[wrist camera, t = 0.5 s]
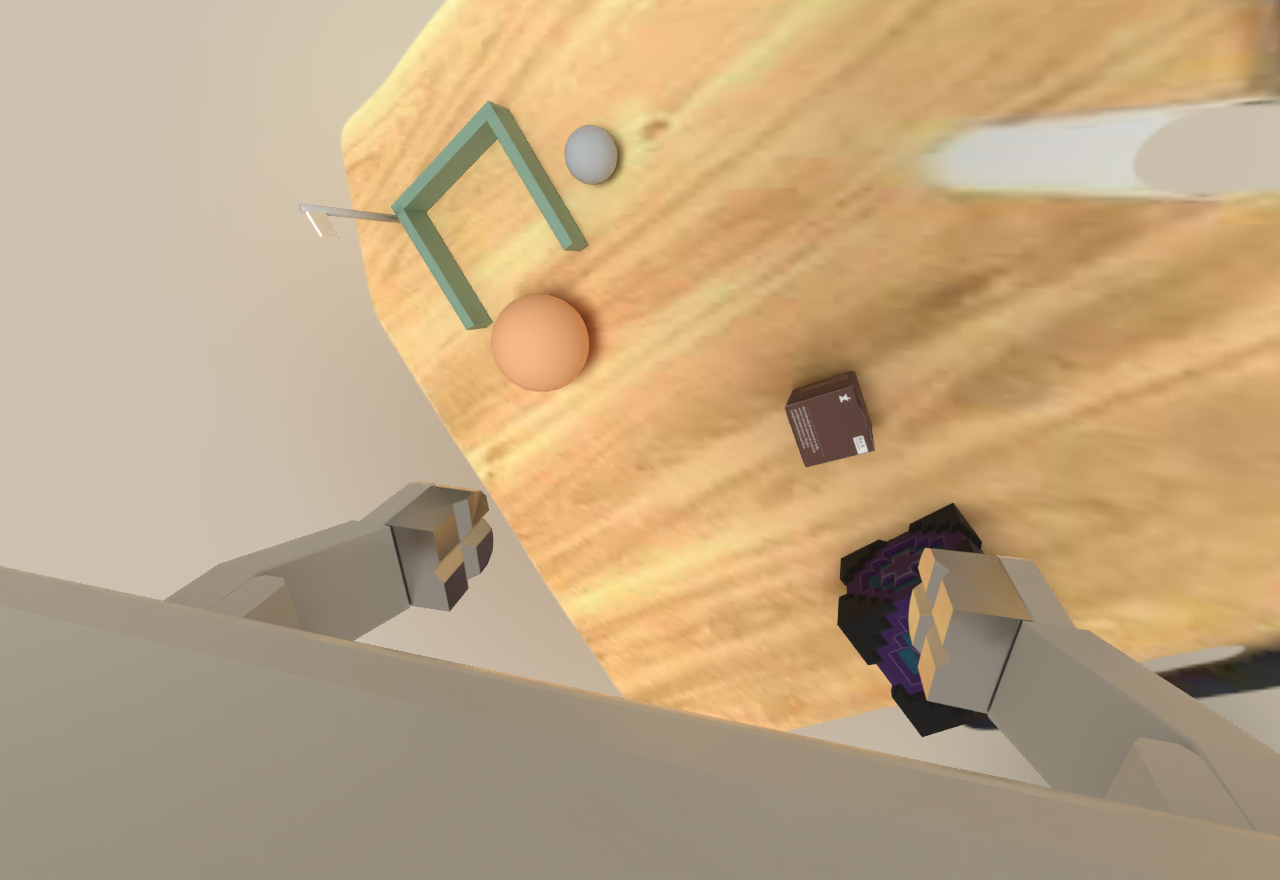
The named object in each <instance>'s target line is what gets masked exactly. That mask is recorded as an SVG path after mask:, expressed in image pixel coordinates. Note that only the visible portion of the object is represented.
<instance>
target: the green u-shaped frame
mask: <svg viewBox="0 0 1280 880" xmlns="http://www.w3.org/2000/svg"><path fill="white" fill-rule="evenodd" d="M497 139H498V140H499V142H500V143H501V145H502V147H503V149H504V150H505V152H506V154H507V155H508V157H509V159H510V160H511V162H512V164H513V165H514V167H515V169H516V170H517V172H518V174H519V175H520V177H521V179H522V180H523V182H524V184H525V185H526V187H527V189H528V190H529V192H530V194H531V196H532V197H533V199H534V201H535V202H536V204H537V206H538V207H539V209H540V211H541V212H542V214H543V216H544V217H545V219H546V221H547V222H548V224H549V226H550V227H551V229H552V231H553V232H554V234H555V236H556V237H557V239H558V241H559V243H560V244H561V246H562V248H563V249H564V250H567V251H581V250H582V249H584V248H585V247H586V246H587V245H588V243H587V241H586V240H585V238H584V236H583V235H582V233H581V231H580V230H579V228H578V226H577V225H576V223H575V221H574V220H573V218H572V216H571V214H570V213H569V211H568V209H567V208H566V206H565V204H564V203H563V201H562V199H561V198H560V196H559V194H558V193H557V191H556V189H555V187H554V186H553V184H552V182H551V181H550V179H549V177H548V176H547V174H546V172H545V171H544V169H543V167H542V165H541V164H540V162H539V160H538V159H537V157H536V155H535V154H534V152H533V150H532V149H531V147H530V145H529V144H528V142H527V140H526V138H525V137H524V135H523V133H522V132H521V130H520V128H519V127H518V125H517V123H516V122H515V120H514V118H513V117H512V115H511V113H510V111H509V110H507V109H505V108H503V107H501V106H499V105H496V104H494V103H492V102H490V101H487V103H486V104H485V105H484V106H483V107H482V108H481V109H480V110H479V111H478V112H477V113H476V115H475V116H474V117H473V118H472V119H471V120H470V121H469V122H468V123H467V124H466V125H465V127H464V128H463V129H462V130H461V131H460V132H459V133H458V134H457V135H456V136H455V137H454V139H453V140H452V141H451V142H450V143H449V144H448V145H447V146H446V147H445V148H444V149H443V151H442V152H441V153H440V154H439V155H438V156H437V157H436V158H435V159H434V160H433V161H432V163H431V164H430V165H429V166H428V167H427V168H426V169H425V170H424V171H423V172H422V173H421V175H420V176H419V177H418V178H417V179H416V180H415V181H414V182H413V183H412V184H411V185H410V187H409V188H408V189H407V190H406V191H405V192H404V193H403V194H402V195H401V196H400V197H399V198H398V200H397V201H396V202H395V203H394V204H393V205H392V206H391V207H392V209H393V211H394V212H395V214H396V215H390V214H381V213H373V212H365V211H357V210H349V209H340V208H332V207H324V206H316V205H308V204H300V206H299V209H300V211H301V212H302V213H306V214H307V216H308V217H309V219H310V221H311V222H312V224H313V226H314V227H315V229H316V230H317V232H318V234H319V235H320V237H325V238H339V237H340V235H339V234H338V232H337V230H336V229H335V228H334V226H333V224H332V223H331V221H330V219H329V218H328V216H337V217H346V218H356V219H365V220H375V221H384V222H393V223H401V224H402V225H403V227H404V229H405V230H406V232H407V233H408V235H409V237H410V238H411V240H412V242H413V243H414V245H415V246H416V248H417V250H418V251H419V253H420V255H421V256H422V258H423V260H424V261H425V263H426V264H427V266H428V268H429V269H430V271H431V273H432V274H433V276H434V277H435V279H436V281H437V282H438V284H439V286H440V287H441V289H442V290H443V292H444V294H445V295H446V297H447V299H448V300H449V302H450V304H451V305H452V307H453V308H454V310H455V312H456V313H457V315H458V317H459V318H460V320H461V321H462V323H463V325H464V326H465V328H466V330H473V329H480V328H486V327H487V326H488V325H490V324H491V323H492V320H491V319H490V317H489V315H488V314H487V312H486V310H485V309H484V307H483V306H482V304H481V302H480V301H479V299H478V297H477V296H476V294H475V292H474V291H473V289H472V287H471V286H470V284H469V283H468V281H467V279H466V278H465V276H464V274H463V273H462V271H461V269H460V268H459V266H458V265H457V263H456V261H455V260H454V258H453V256H452V255H451V253H450V251H449V250H448V248H447V246H446V245H445V243H444V242H443V240H442V238H441V237H440V235H439V233H438V232H437V230H436V228H435V227H434V225H433V224H432V222H431V220H430V219H429V217H428V215H427V214H426V212H427V211H428V210H429V209H430V208H431V207H432V206H433V204H434V203H435V202H436V201H437V200H438V199H439V198H440V197H441V196H442V195H443V194H444V193H445V192H446V191H447V190H448V189H449V188H450V187H451V186H452V185H453V184H454V183H455V182H456V181H457V180H458V179H459V178H460V177H461V176H462V175H463V174H464V173H465V172H466V170H467V169H468V168H469V167H470V166H471V165H472V164H473V163H474V162H475V161H476V160H477V159H478V158H479V157H480V156H481V155H482V154H483V153H484V152H485V151H486V150H487V149H488V148H489V147H490V146H491V145H492V144H493V143H494V142H495V141H496V140H497ZM327 215H328V216H327Z"/></svg>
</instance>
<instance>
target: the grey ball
mask: <svg viewBox="0 0 1280 880" xmlns="http://www.w3.org/2000/svg"><path fill="white" fill-rule="evenodd" d="M565 161H566V164H567V167H568V169H569V171H570V172H571V174H572V175H573V176H574V177H575V178H576V179H578V180H579V181H581V182H583V183H586V184H598V183H601V182H603V181H605V180H606V179H608V178H609V177H610V176H611V174H612V173H613V171H614V169H615V167H616V163H617V149H616V145H615V142H614V140H613V139H612V137H611V136H610V135H609V133H608V132H606V131H605V130H604V129H602V128H600V127H598V126H594V125H586V126H582V127H580V128H578V129H576V130H575V131H574V132H573V133H572V134H571V135H570V137H569V139H568V141H567V143H566V146H565Z"/></svg>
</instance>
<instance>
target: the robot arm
mask: <svg viewBox="0 0 1280 880" xmlns="http://www.w3.org/2000/svg"><path fill="white" fill-rule="evenodd" d="M488 511H489V508H488V503H487V498H486V496H485V494H483V493H482V492H481V491H479V490H473V489H466V488H459V487H452V486H446V485H437V484H433V483H424V482H411V483H409V484H408V485H406V486H405V487H404V488H402V489H401V490H400V491H398V492H397V493H396V494H395V495H393V496H392V497H391V498H389V499H388V500H387V501H385V502H384V503H383V504H381V505H380V506H379V507H378V508H376V509H375V510H374V511H372V512H371V513H370V514H368V515H367V516H366V517H365V518H363V519H362V520H361V521H350V522H346V523H343V524H340V525H337V526H334V527H331V528H328V529H325V530H322V531H319V532H316V533H313V534H310V535H307V536H303V537H300V538H297V539H294V540H291V541H288V542H285V543H282V544H279V545H276V546H273V547H270V548H267V549H264V550H261V551H257V552H255V553H252V554H248V555H245V556H242V557H239V558H236V559H233V560H230V561H227V562H224V563H221V564H218V565H217V566H215V567H214V568H212V569H211V570H209V571H208V572H206V573H205V574H203V575H201V576H200V577H199V578H197V579H195V580H194V581H192V582H191V583H189V584H188V585H186V586H185V587H183V588H182V589H180V590H179V591H177V592H176V593H174V594H173V595H171V596H170V597H168V598H167V599H165V600H164V601H161V600H156V599H152V598H147V597H142V596H137V595H133V594H128V593H123V592H118V591H114V590H109V589H104V588H100V587H94V586H90V585H85V584H81V583H75V582H71V581H66V580H61V579H57V578H52V577H47V576H42V575H38V574H33V573H29V572H23V571H19V570H15V569H10V568H6V567H2V566H0V880H1280V754H1279V753H1277V752H1276V751H1274V750H1273V749H1271V748H1270V747H1268V746H1267V745H1265V744H1263V743H1262V742H1260V741H1259V740H1257V739H1255V738H1254V737H1253V736H1251V735H1250V734H1248V733H1246V732H1245V731H1243V730H1242V729H1240V728H1239V727H1237V726H1235V725H1234V724H1233V723H1231V722H1230V721H1228V720H1226V719H1225V718H1223V717H1222V716H1220V715H1219V714H1217V713H1216V712H1214V711H1212V710H1211V709H1209V708H1208V707H1206V706H1204V705H1203V704H1201V703H1200V702H1199V701H1197V700H1195V699H1194V698H1192V697H1191V696H1189V695H1188V694H1186V693H1185V692H1183V691H1182V690H1180V689H1178V688H1177V687H1175V686H1174V685H1172V684H1171V683H1169V682H1168V681H1166V680H1165V679H1163V678H1161V677H1160V676H1158V675H1157V674H1155V673H1154V672H1152V671H1150V670H1149V669H1147V668H1146V667H1144V666H1143V665H1141V664H1140V663H1138V662H1137V661H1135V660H1134V659H1132V658H1130V657H1129V656H1127V655H1126V654H1124V653H1123V652H1121V651H1120V650H1118V649H1117V648H1115V647H1113V646H1112V645H1110V644H1109V643H1107V642H1106V641H1104V640H1103V639H1101V638H1100V637H1098V636H1096V635H1095V634H1093V633H1092V632H1090V631H1088V630H1082V629H1077V628H1076V626H1075V625H1074V623H1073V622H1072V620H1071V619H1070V617H1069V615H1068V614H1067V612H1066V611H1065V609H1064V608H1063V606H1062V605H1061V603H1060V601H1059V600H1058V598H1057V597H1056V595H1055V594H1054V592H1053V591H1052V589H1051V587H1050V586H1049V584H1048V583H1047V581H1046V580H1045V578H1044V577H1043V575H1042V573H1041V572H1040V570H1039V569H1038V567H1037V566H1036V564H1035V563H1034V562H1033V561H1032V560H1030V559H1028V558H1022V557H1011V556H1001V555H987V554H978V553H968V552H959V551H950V550H940V549H931V548H925V549H924V551H923V553H922V555H921V559H920V563H919V566H918V569H919V573H920V576H921V579H922V583H921V584H919V585H918V586H917V587H915V588H914V589H913V591H912V595H911V600H910V605H909V621H908V622H909V631H910V637H911V641H912V645H913V646H914V647H915V648H916V649H917V650H918V651H919V652H920V653H921V656H920V660H919V664H918V669H919V673H920V677H921V681H922V685H923V688H924V692H925V696H926V700H927V701H931V702H936V703H940V704H945V705H950V706H954V707H959V708H964V709H969V710H973V711H978V712H983V713H987V714H988V717H989V718H990V719H991V720H992V722H993V723H994V724H995V725H996V726H997V727H998V728H999V729H1000V730H1001V732H1002V733H1003V734H1004V735H1005V736H1006V737H1007V738H1008V739H1009V740H1010V742H1011V743H1012V744H1013V745H1014V746H1015V747H1016V748H1017V749H1018V750H1019V752H1020V753H1021V754H1022V755H1023V756H1024V757H1025V758H1026V759H1027V760H1028V761H1029V763H1030V764H1031V765H1032V766H1033V767H1034V768H1035V769H1036V770H1037V772H1038V773H1039V774H1040V775H1041V776H1042V777H1043V778H1044V779H1045V781H1046V782H1047V783H1048V784H1049V785H1050V786H1051V787H1052V788H1048V787H1044V786H1039V785H1034V784H1029V783H1025V782H1020V781H1015V780H1010V779H1006V778H1001V777H996V776H991V775H986V774H981V773H977V772H972V771H967V770H962V769H957V768H952V767H948V766H943V765H938V764H933V763H928V762H924V761H919V760H914V759H909V758H905V757H900V756H895V755H891V754H886V753H881V752H877V751H872V750H867V749H862V748H857V747H853V746H848V745H844V744H839V743H834V742H829V741H824V740H820V739H815V738H811V737H806V736H801V735H796V734H791V733H787V732H782V731H777V730H773V729H768V728H763V727H759V726H754V725H749V724H744V723H740V722H735V721H730V720H726V719H721V718H716V717H711V716H707V715H702V714H697V713H692V712H688V711H683V710H678V709H674V708H669V707H664V706H659V705H654V704H650V703H645V702H640V701H635V700H631V699H626V698H621V697H616V696H611V695H606V694H602V693H597V692H592V691H587V690H582V689H578V688H573V687H568V686H564V685H559V684H554V683H549V682H544V681H539V680H535V679H530V678H525V677H521V676H515V675H511V674H506V673H502V672H496V671H492V670H487V669H483V668H478V667H473V666H469V665H464V664H459V663H454V662H450V661H445V660H440V659H435V658H431V657H426V656H421V655H416V654H412V653H407V652H402V651H398V650H392V649H388V648H383V647H379V646H374V645H369V644H364V643H360V642H355V641H354V640H356V639H357V638H359V637H360V636H362V635H364V634H366V633H367V632H369V631H371V630H373V629H374V628H376V627H378V626H379V625H381V624H383V623H384V622H386V621H388V620H390V619H391V618H393V617H395V616H396V615H398V614H400V613H401V612H403V611H405V610H407V609H408V608H410V605H411V606H417V607H424V608H430V609H437V610H443V611H450V610H451V609H452V608H453V607H454V606H455V604H456V603H457V602H458V601H459V599H460V598H461V597H462V596H463V595H464V593H465V592H466V591H467V590H468V581H467V580H468V579H470V578H472V577H474V576H477V575H479V574H480V573H481V572H482V571H483V570H484V568H485V567H486V566H487V564H488V562H489V559H490V556H491V553H492V551H493V533H492V528H491V527H490V526H489V524H488V523H487V522H486V521H485V519H484V517H485V515H486V514H487V512H488Z"/></svg>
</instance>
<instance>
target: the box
mask: <svg viewBox="0 0 1280 880" xmlns="http://www.w3.org/2000/svg"><path fill="white" fill-rule="evenodd" d="M785 410H786V413H787V416H788V419H789V422H790V425H791V428H792V431H793V434H794V436H795V439H796V442H797V445H798V448H799V451H800V454H801V457H802V459H803V462H804V464H805V467H810V466H814V465H818V464H822V463H826V462H830V461H834V460H838V459H842V458H846V457H850V456H854V455H858V454H863V453H867V452H871V451H874V450H875V447H874V440H873V434H872V425H871V421H870V418H869V415H868V412H867V408H866V405H865V402H864V399H863V396H862V393H861V390H860V387H859V384H858V381H857V378H856V375H855V372H853V371H851V372H848V373H845V374H842V375H838V376H835V377H832V378H829V379H826V380H823V381H820V382H816V383H814V384H810V385H807V386H804V387H801V388H798V389H795V390H793V392H792V394H791V396H790V398H789V400H788V402H787V405H786V406H785Z"/></svg>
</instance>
